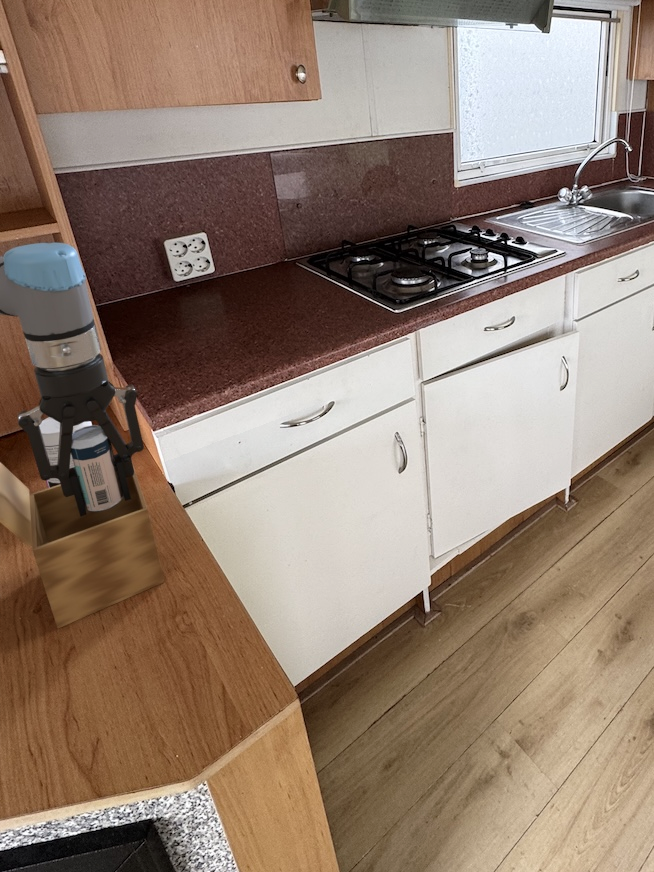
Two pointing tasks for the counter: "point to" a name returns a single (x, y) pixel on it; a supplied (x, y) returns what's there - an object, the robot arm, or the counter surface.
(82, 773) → the counter surface
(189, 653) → the counter surface
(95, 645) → the counter surface
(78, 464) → the beer can
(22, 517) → the flap
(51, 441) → the supplement can
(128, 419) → the robot arm
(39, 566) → the open box
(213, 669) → the counter surface
